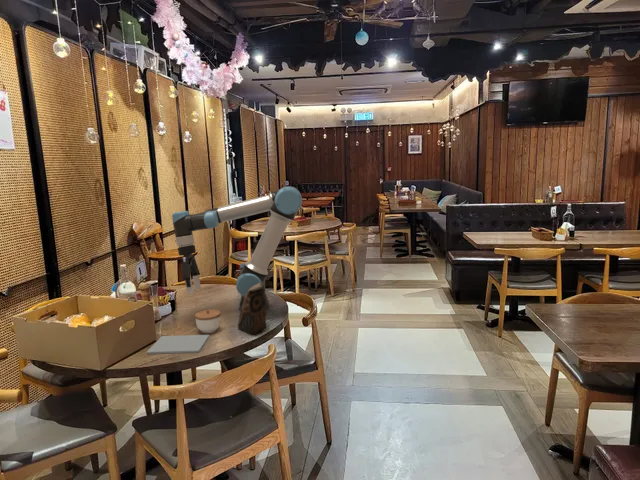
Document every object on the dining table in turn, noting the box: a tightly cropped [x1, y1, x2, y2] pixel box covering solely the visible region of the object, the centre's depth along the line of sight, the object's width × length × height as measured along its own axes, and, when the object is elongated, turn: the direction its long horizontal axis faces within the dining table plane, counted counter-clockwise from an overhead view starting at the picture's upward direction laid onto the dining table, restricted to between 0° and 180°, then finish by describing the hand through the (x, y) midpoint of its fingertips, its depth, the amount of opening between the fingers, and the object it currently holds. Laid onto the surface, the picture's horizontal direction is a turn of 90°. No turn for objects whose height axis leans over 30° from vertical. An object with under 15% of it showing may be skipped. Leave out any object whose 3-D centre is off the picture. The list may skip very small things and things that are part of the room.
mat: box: [146, 334, 210, 355], centre depth 176 cm, size 20×16×1 cm
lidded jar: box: [194, 309, 222, 334], centre depth 190 cm, size 11×11×9 cm
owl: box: [237, 282, 267, 336], centre depth 187 cm, size 13×13×20 cm
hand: (194, 291), depth 199 cm, fingers open, 13 cm apart
